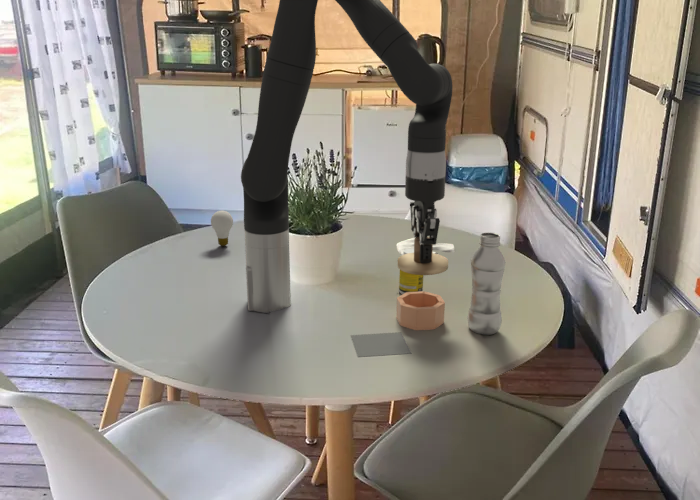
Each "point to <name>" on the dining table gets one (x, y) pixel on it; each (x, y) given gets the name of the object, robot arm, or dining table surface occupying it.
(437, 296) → the bowl
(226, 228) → the light bulb
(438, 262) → the lid
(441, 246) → the cloth
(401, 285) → the supplement bottle
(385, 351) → the mat
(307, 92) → the robot arm
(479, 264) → the plastic bottle
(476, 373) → the dining table surface
